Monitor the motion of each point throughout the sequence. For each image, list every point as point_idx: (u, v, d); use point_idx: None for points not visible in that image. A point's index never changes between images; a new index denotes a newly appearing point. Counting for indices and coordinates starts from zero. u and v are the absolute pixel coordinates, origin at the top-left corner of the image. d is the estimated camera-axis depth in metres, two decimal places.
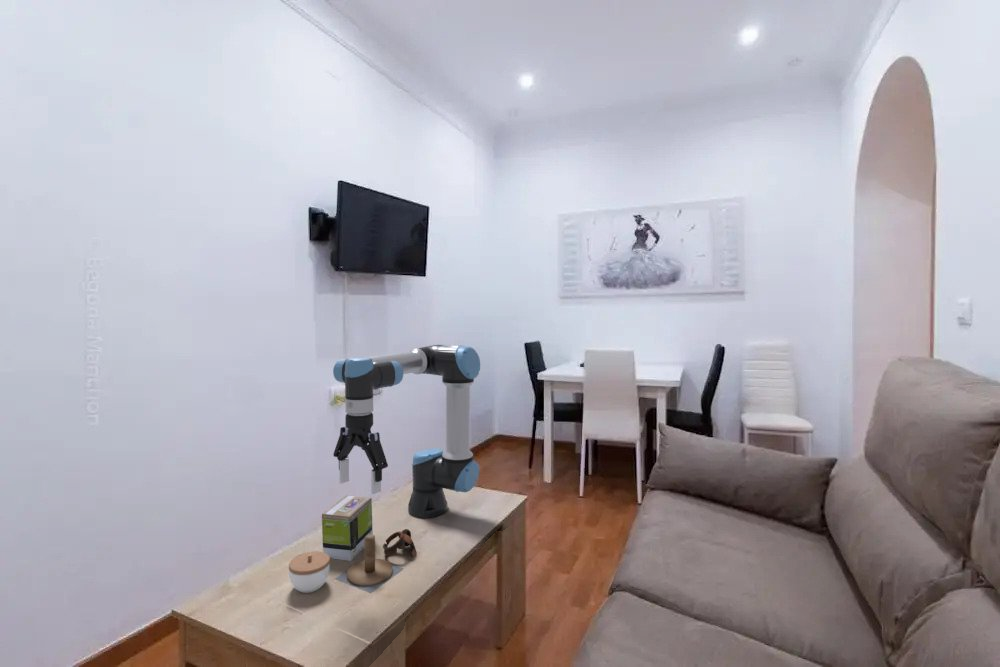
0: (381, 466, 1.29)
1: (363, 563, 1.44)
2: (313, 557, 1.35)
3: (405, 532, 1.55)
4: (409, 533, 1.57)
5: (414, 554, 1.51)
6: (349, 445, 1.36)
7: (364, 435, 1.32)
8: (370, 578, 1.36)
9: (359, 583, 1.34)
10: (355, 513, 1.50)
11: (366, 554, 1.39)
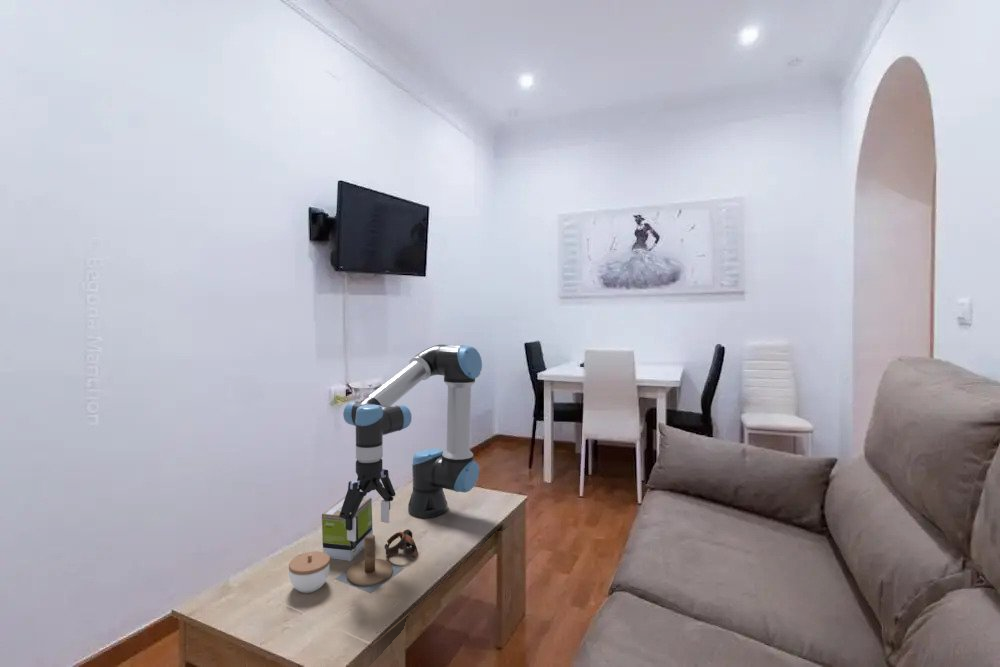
0: (340, 515, 1.31)
1: (363, 563, 1.44)
2: (313, 557, 1.35)
3: (406, 532, 1.55)
4: (410, 533, 1.57)
5: (416, 554, 1.50)
6: None
7: None
8: (370, 578, 1.36)
9: (359, 583, 1.34)
10: None
11: (366, 554, 1.39)
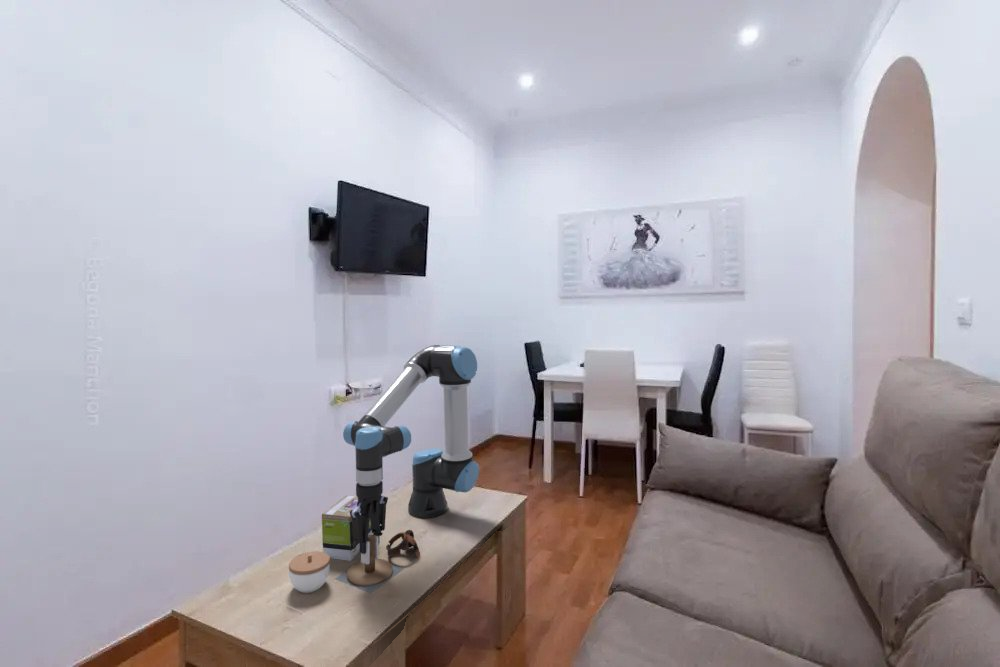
0: (354, 540, 1.36)
1: (363, 563, 1.44)
2: (313, 557, 1.35)
3: (408, 533, 1.55)
4: (412, 534, 1.57)
5: (417, 555, 1.50)
6: None
7: None
8: (370, 578, 1.36)
9: (359, 583, 1.34)
10: None
11: None
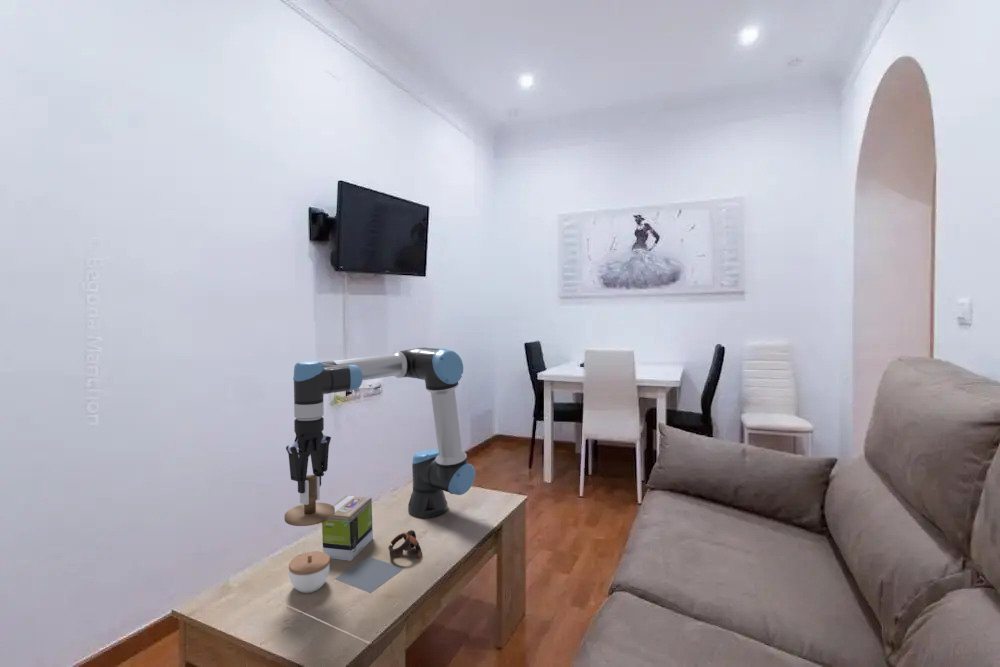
0: (291, 478, 1.28)
1: None
2: (313, 557, 1.35)
3: (410, 533, 1.55)
4: (414, 534, 1.57)
5: (420, 555, 1.50)
6: (310, 452, 1.34)
7: None
8: (308, 518, 1.29)
9: (295, 523, 1.27)
10: (355, 513, 1.50)
11: None
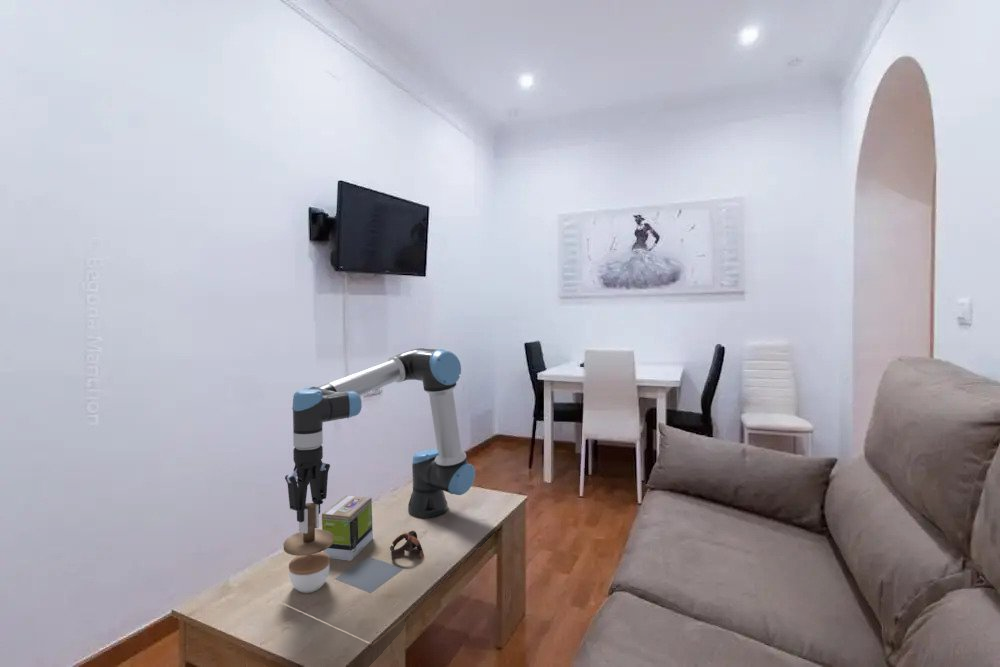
0: (290, 507, 1.29)
1: None
2: (313, 557, 1.35)
3: (412, 534, 1.54)
4: (415, 535, 1.56)
5: (421, 556, 1.50)
6: (309, 480, 1.34)
7: None
8: (307, 547, 1.29)
9: (294, 553, 1.27)
10: (355, 513, 1.50)
11: None
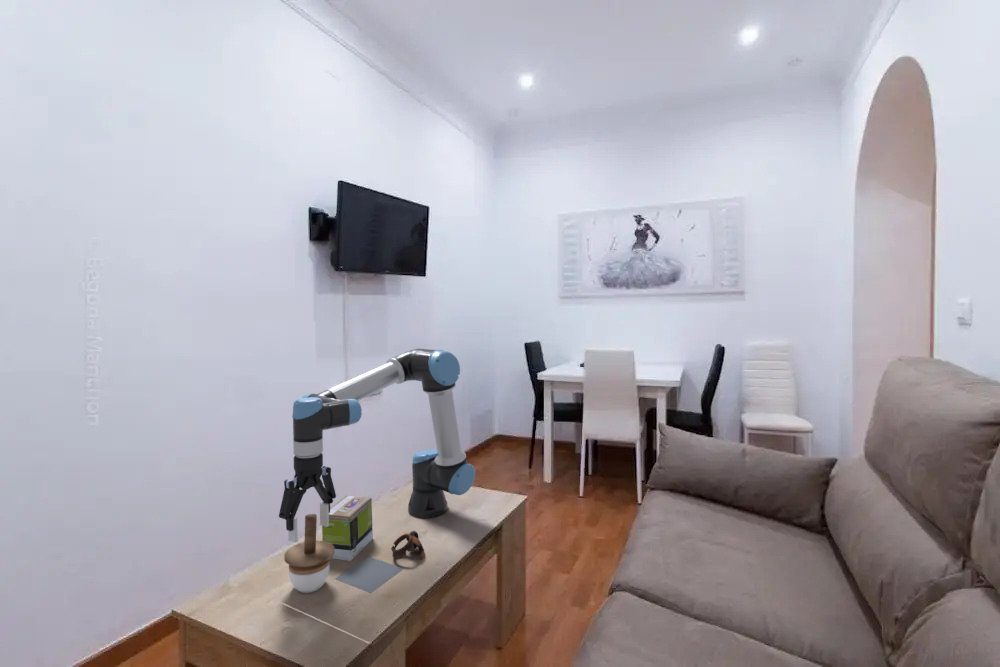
0: (279, 515, 1.26)
1: None
2: None
3: (413, 534, 1.54)
4: (416, 535, 1.56)
5: (423, 556, 1.50)
6: None
7: None
8: (308, 559, 1.29)
9: (295, 564, 1.27)
10: (355, 513, 1.50)
11: (306, 534, 1.32)
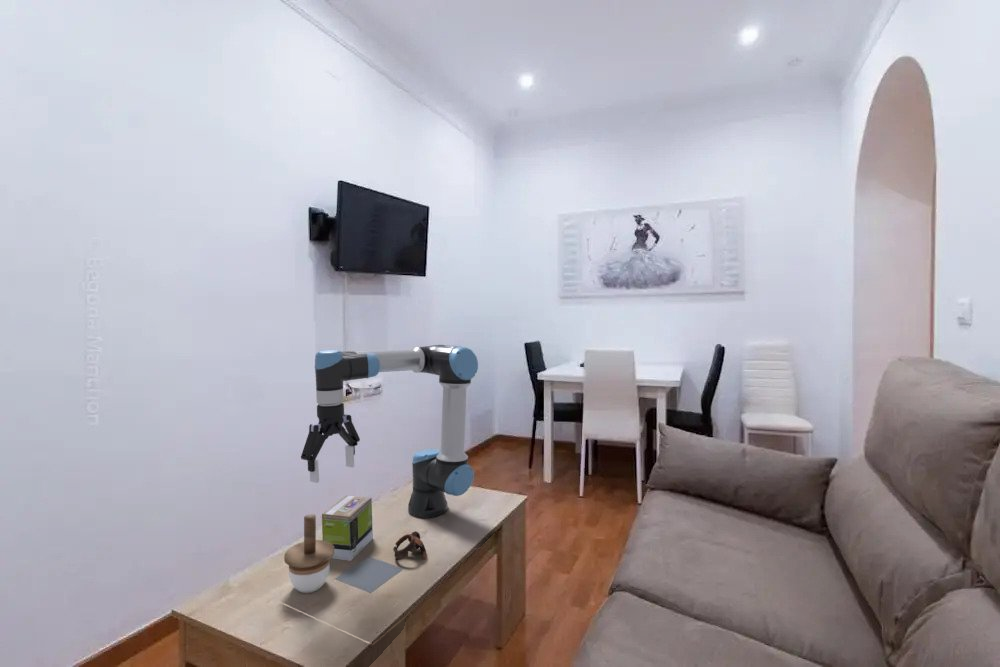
0: (301, 456, 1.33)
1: None
2: None
3: (415, 534, 1.54)
4: (418, 535, 1.56)
5: (425, 556, 1.49)
6: None
7: None
8: (308, 559, 1.29)
9: (295, 565, 1.27)
10: (355, 513, 1.50)
11: (305, 534, 1.32)
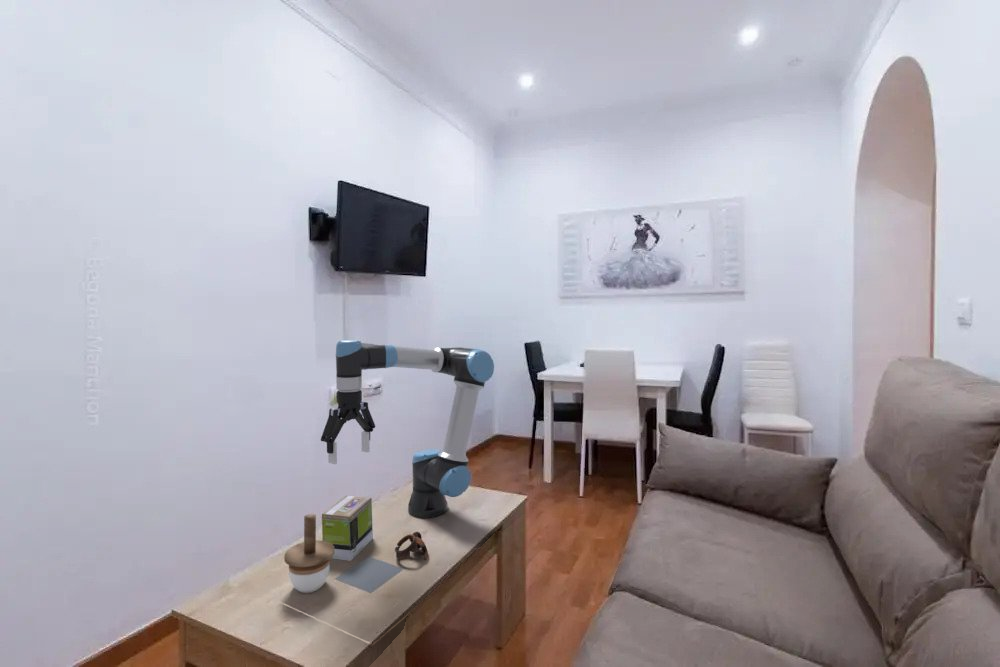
0: (321, 438, 1.41)
1: None
2: None
3: (416, 535, 1.54)
4: (420, 536, 1.56)
5: (427, 557, 1.49)
6: (354, 418, 1.52)
7: None
8: (308, 559, 1.29)
9: (295, 564, 1.27)
10: (355, 513, 1.50)
11: (305, 534, 1.32)
